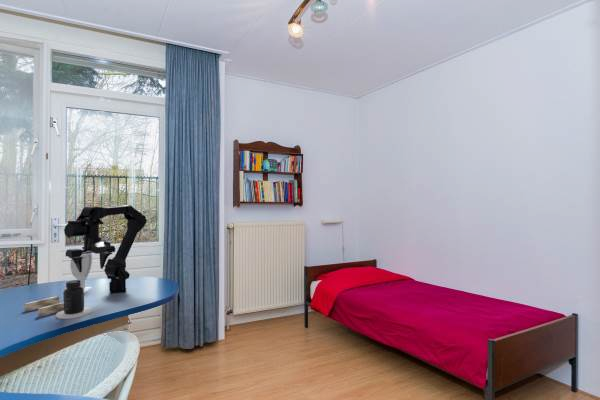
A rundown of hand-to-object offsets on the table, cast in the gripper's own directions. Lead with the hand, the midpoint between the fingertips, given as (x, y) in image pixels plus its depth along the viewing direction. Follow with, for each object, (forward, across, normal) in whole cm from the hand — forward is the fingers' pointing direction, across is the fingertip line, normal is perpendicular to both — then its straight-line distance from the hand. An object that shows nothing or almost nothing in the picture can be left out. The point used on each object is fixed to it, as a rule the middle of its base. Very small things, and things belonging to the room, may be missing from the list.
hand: (91, 270), depth 156 cm
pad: (+13, -13, -12) cm, 22 cm away
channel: (+13, -16, +2) cm, 21 cm away
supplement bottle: (+13, -13, -12) cm, 22 cm away
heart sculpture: (+13, +6, +18) cm, 23 cm away
